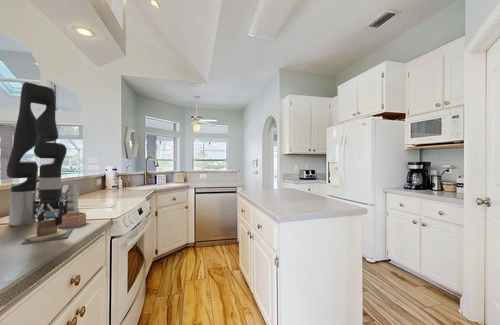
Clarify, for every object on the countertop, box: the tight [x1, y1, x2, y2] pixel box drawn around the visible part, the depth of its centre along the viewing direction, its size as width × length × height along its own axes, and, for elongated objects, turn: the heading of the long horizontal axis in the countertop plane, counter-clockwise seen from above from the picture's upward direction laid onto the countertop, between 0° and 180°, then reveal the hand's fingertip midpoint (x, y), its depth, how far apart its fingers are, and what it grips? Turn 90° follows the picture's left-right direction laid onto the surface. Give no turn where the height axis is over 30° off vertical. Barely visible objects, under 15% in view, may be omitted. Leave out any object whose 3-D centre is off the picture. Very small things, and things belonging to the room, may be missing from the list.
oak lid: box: [25, 218, 67, 241], centre depth 94 cm, size 13×13×7 cm
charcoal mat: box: [21, 228, 74, 245], centre depth 95 cm, size 14×14×1 cm
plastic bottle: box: [64, 183, 80, 213], centre depth 126 cm, size 6×7×20 cm
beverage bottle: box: [44, 183, 65, 220], centre depth 124 cm, size 8×8×20 cm
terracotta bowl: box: [57, 211, 87, 229], centre depth 114 cm, size 11×11×5 cm
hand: (49, 224), depth 95 cm, fingers open, 8 cm apart
